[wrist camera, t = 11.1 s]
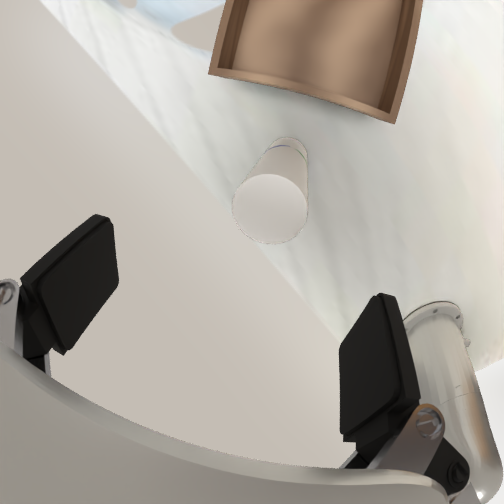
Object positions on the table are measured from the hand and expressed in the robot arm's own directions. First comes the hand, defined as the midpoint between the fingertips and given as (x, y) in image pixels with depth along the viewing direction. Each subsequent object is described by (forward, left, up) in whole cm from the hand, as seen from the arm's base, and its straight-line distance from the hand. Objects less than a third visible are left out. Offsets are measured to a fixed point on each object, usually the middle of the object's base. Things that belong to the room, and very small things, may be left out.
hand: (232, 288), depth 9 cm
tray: (0, -14, -22) cm, 26 cm away
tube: (0, 0, -22) cm, 22 cm away
